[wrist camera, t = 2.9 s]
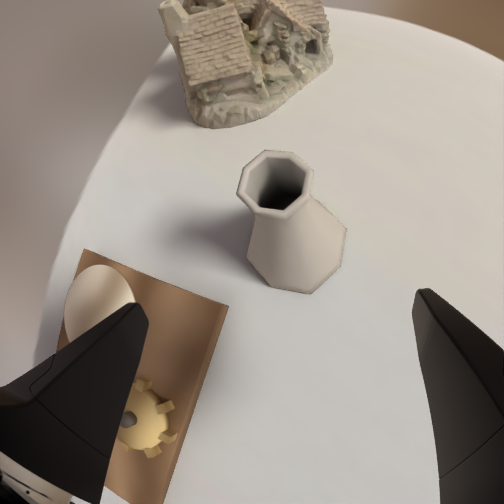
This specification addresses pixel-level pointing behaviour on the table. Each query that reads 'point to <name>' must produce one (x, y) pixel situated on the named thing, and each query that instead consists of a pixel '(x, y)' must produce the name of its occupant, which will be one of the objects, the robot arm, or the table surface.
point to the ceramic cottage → (245, 54)
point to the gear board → (148, 368)
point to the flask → (289, 224)
